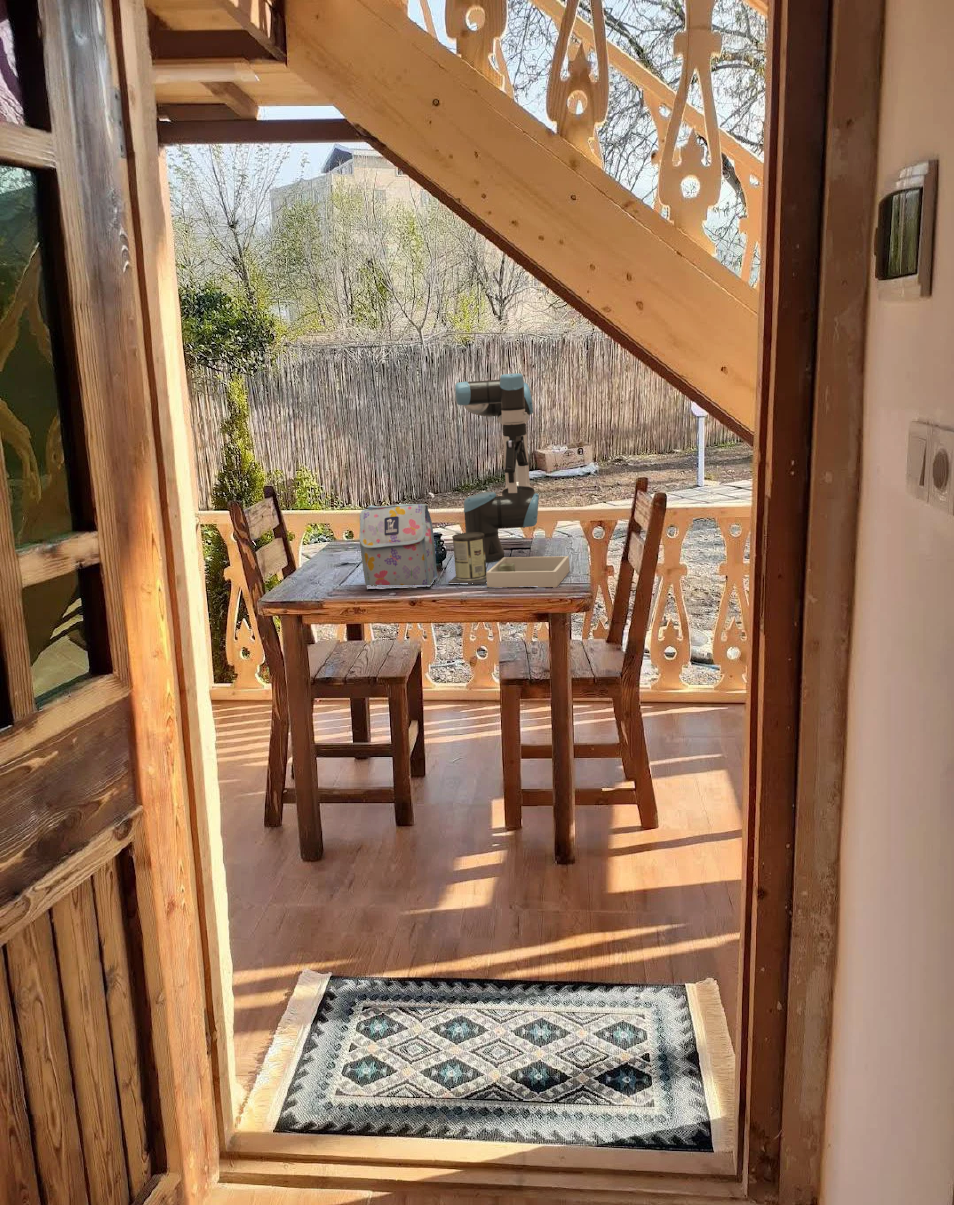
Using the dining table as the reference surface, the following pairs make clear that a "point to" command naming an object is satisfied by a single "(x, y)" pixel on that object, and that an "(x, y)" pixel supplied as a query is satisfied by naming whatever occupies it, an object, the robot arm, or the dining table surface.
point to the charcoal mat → (482, 581)
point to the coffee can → (469, 556)
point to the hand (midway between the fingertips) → (517, 489)
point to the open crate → (529, 572)
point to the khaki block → (507, 567)
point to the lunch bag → (397, 545)
